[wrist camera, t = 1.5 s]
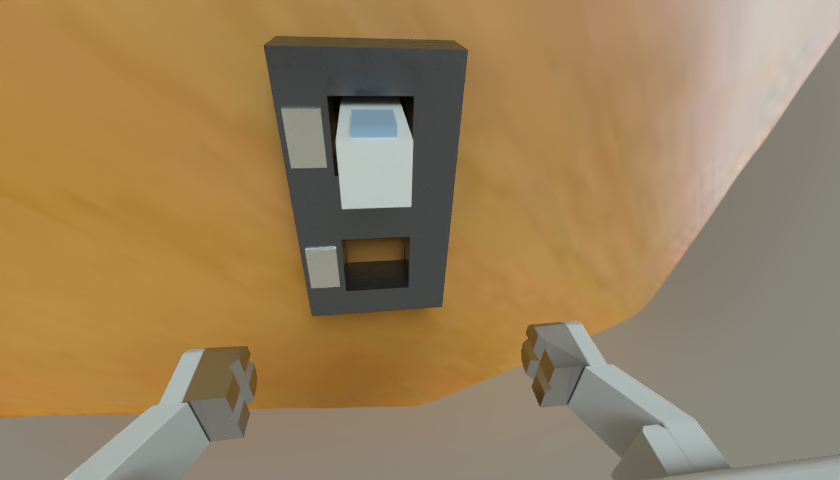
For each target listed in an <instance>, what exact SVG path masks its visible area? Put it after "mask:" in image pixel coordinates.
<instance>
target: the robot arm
mask: <svg viewBox="0 0 840 480" xmlns="http://www.w3.org/2000/svg"><path fill="white" fill-rule="evenodd" d="M526 335H527V337H528V339H527V340H526V341H525V342H523V345H522V349H521V359H522V363H523V367H524V369H525V372H526V374H527V375H528V376H530V377H531V378H532V379H533V380H534V381H533V384H532V389H533V392H534V394H535V396H536V398H537V401H538V403H539V406H540V407H550V406H564V405H568V408H569V409H570V410H571V411H573V412H574V413H575V414H576V415H577V416H578V417H579V418H580V419H581V420H582V421H583V422H584V423H585V424H586V425H587V426H588V427H589V428H590V429H592V431H594V432H595V433H596V434H597V435H598V436H599V437H600V438H601V439H602V440H603V441H604V442H605V443H606V444H607V445H608V446H609V447H610V448H611V449H612V450H613V451H614V452H615V453H617V454H618V455H619V456H620V457H621V458H622V459H621V460H620V461H619V463H618V464H617V466H616V468H615V469H614V470H613V473H612V475H611V476H612V478H613V480H840V454H837V455H831V456H822V457H814V458H807V459H799V460H791V461H784V462H777V463H768V464H760V465H753V466H745V467H737V468H731V467H730V466H729V464H728V463H727V462H726V460H725V459H724V458H723V456H722V455H721V454H720V452H719V451H718V450H717V448H716V447H715V446H714V444H713V443H712V442H711V440H710V439H709V438H708V436H707V435H706V434H705V432H704V431H703V430H702V428H701V427H700V426H699V424H698V423H697V422H696V420H695V419H694V418H692V417H691V416H689V415H688V414H686V413H685V412H683V411H682V410H680V409H679V408H677V407H675V406H674V405H673V404H671V403H670V402H668V401H667V400H665V399H664V398H662V397H661V396H659V395H658V394H656V393H655V392H653V391H652V390H650V389H648V388H647V387H646V386H644V385H643V384H640V382H638V381H637V380H635V379H634V378H632V377H630V376H629V375H628V374H626V373H624V372H623V371H622V370H620V369H618V368H617V367H615V366H614V365H608V364H607V363H606V361H605V360H604V358H603V357H602V355H601V354H600V352H599V351H598V349H597V347H596V346H595V344H594V343H593V341H592V340H591V338H590V336H589V335H588V333H587V332H586V330H585V329H584V327H583V325H582V324H581V323H580V322H579V321H570V322H554V323H542V324H531V325H529V326H528V327H527V330H526ZM249 358H250V351H249V349H248V346H239V347H219V348H202V349H187V350H186V351H185V352H184V353H183V355H182V356H181V358H180V361H179V363H178V365H177V367H176V369H175V371H174V373H173V375H172V377H171V379H170V381H169V383H168V385H167V388H166V390H165V392H164V394H163V396H162V398H161V400H160V402H159V404H158V405H153V406H151V407H150V408H149V409H147V410H146V411H145V412H144V413H143V414H141V415H140V416H139V417H138V418H137V419H135V420H134V421H133V422H132V423H131V424H130V425H128V426H127V427H126V428H125V429H124V430H122V431H121V432H120V433H119V434H118V435H116V436H115V437H114V438H113V439H112V440H111V441H110V442H108V443H107V444H106V445H104V446H103V447H102V448H101V449H100V450H98V451H97V452H96V453H95V454H94V455H93V456H91V457H90V458H89V459H88V460H87V461H85V462H84V463H83V464H82V465H81V466H79V467H78V468H77V469H76V470H75V471H74V472H72V473H71V474H70V475H69V476H68V477H67V478H65V479H64V480H181V478H182V477H183V476H184V474H185V473H186V472H187V471H188V470H189V469H190V467H191V466H192V464H194V463H195V461H196V460H197V459H198V458H199V456H200V455H201V454H202V453H203V452H204V450H205V449H206V448H207V447H208V446H209V444H210V442H212V441H219V440H227V439H235V438H243V437H244V434H245V430H246V426H247V422H248V419H249V415H250V413H249V410H248V408H247V405H248V404H249V403H250V402H251V401H252V400H253V399H254V395H255V391H256V383H257V374H256V369H255V366H254V364H253V363H251V362H249Z"/></svg>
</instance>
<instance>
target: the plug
mask: <svg viewBox="0 0 840 480" xmlns="http://www.w3.org/2000/svg"><path fill="white" fill-rule="evenodd" d="M336 151H337V162H338V173H339V184H340V194H341V205H342V209H362V208H391V207H411V201H412V167H413V138H412V135H411V132H410V129H409V126H408V123H407V120H406V117H405V114H404V112H403V109H402V106H401V103H400V100H399V97H398V96H341V104H340V111H339V119H338V127H337V134H336Z"/></svg>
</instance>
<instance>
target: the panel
mask: <svg viewBox="0 0 840 480" xmlns="http://www.w3.org/2000/svg"><path fill="white" fill-rule="evenodd" d="M264 50H265V55H266V61H267V67H268V72H269V78H270V83H271V89H272V95H273V100H274V106H275V112H276V117H277V123H278V128H279V134H280V140H281V145H282V151H283V156H284V162H285V168H286V173H287V179H288V184H289V190H290V196H291V201H292V207H293V213H294V218H295V224H296V229H297V235H298V241H299V246H300V252H301V257H302V263H303V269H304V274H305V280H306V285H307V291H308V297H309V302H310V308H311V314H312V316H320V315H334V314H349V313H363V312H377V311H391V310H405V309H419V308H433V307H442V302H443V292H444V282H445V272H446V262H447V252H448V242H449V232H450V222H451V212H452V203H453V193H454V183H455V173H456V163H457V153H458V143H459V133H460V123H461V113H462V103H463V93H464V83H465V73H466V63H467V53H468V50H467V49H466V48H464V47H463V46H461V45H460V44H458V43H457V42H456V41H449V40H409V39H369V38H329V37H289V36H276V37H274V38H273V39H272V40H270V41H269V42H268V43H266V44H265V45H264ZM332 96H407V123H408V126H409V129H410V132H411V135H412V138H413V167H412V201H411V207H391V208H362V209H342V205H341V194H340V184H339V173H338V162H337V151H336V136H335V125H334V114H333V103H332ZM393 237H404V260H393V261H374V262H356V263H347V256H346V245H345V240H349V239H371V238H393Z"/></svg>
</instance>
